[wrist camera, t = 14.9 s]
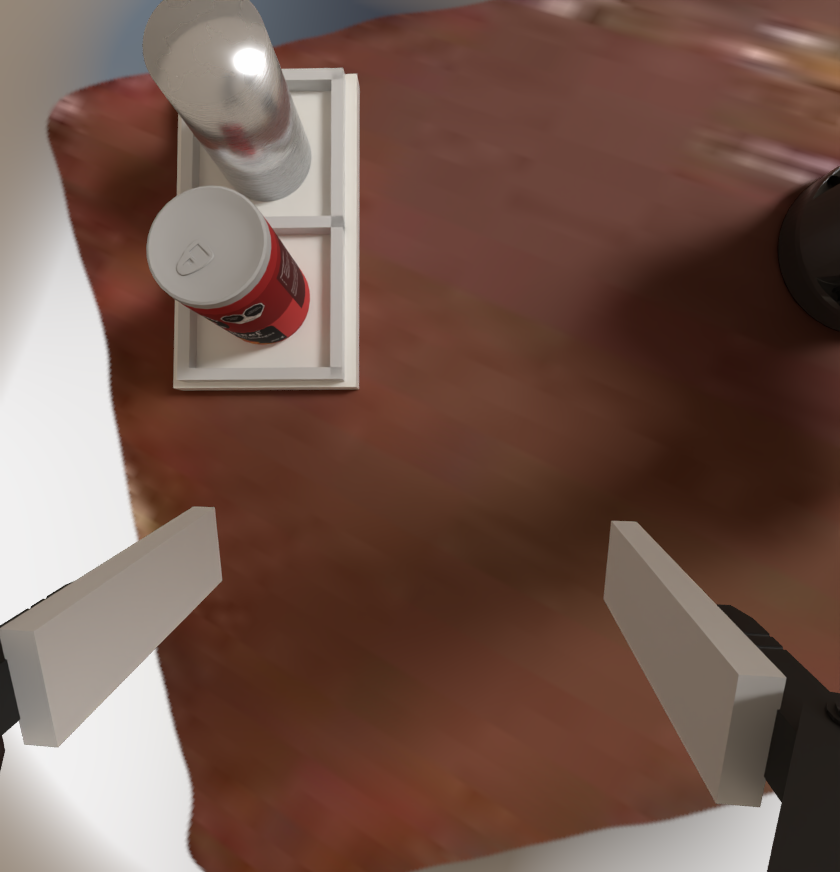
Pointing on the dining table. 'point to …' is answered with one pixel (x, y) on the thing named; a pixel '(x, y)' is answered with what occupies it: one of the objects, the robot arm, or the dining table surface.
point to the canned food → (228, 265)
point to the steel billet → (230, 92)
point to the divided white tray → (307, 244)
